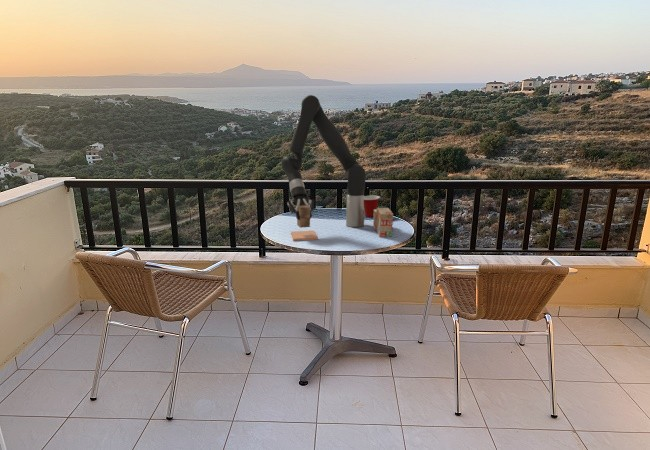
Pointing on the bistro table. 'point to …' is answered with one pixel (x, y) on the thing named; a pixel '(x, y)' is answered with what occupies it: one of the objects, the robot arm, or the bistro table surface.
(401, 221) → the bistro table surface
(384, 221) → the stack of blocks
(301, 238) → the terracotta tile
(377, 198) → the plastic cup
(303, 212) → the walnut block
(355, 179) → the robot arm
